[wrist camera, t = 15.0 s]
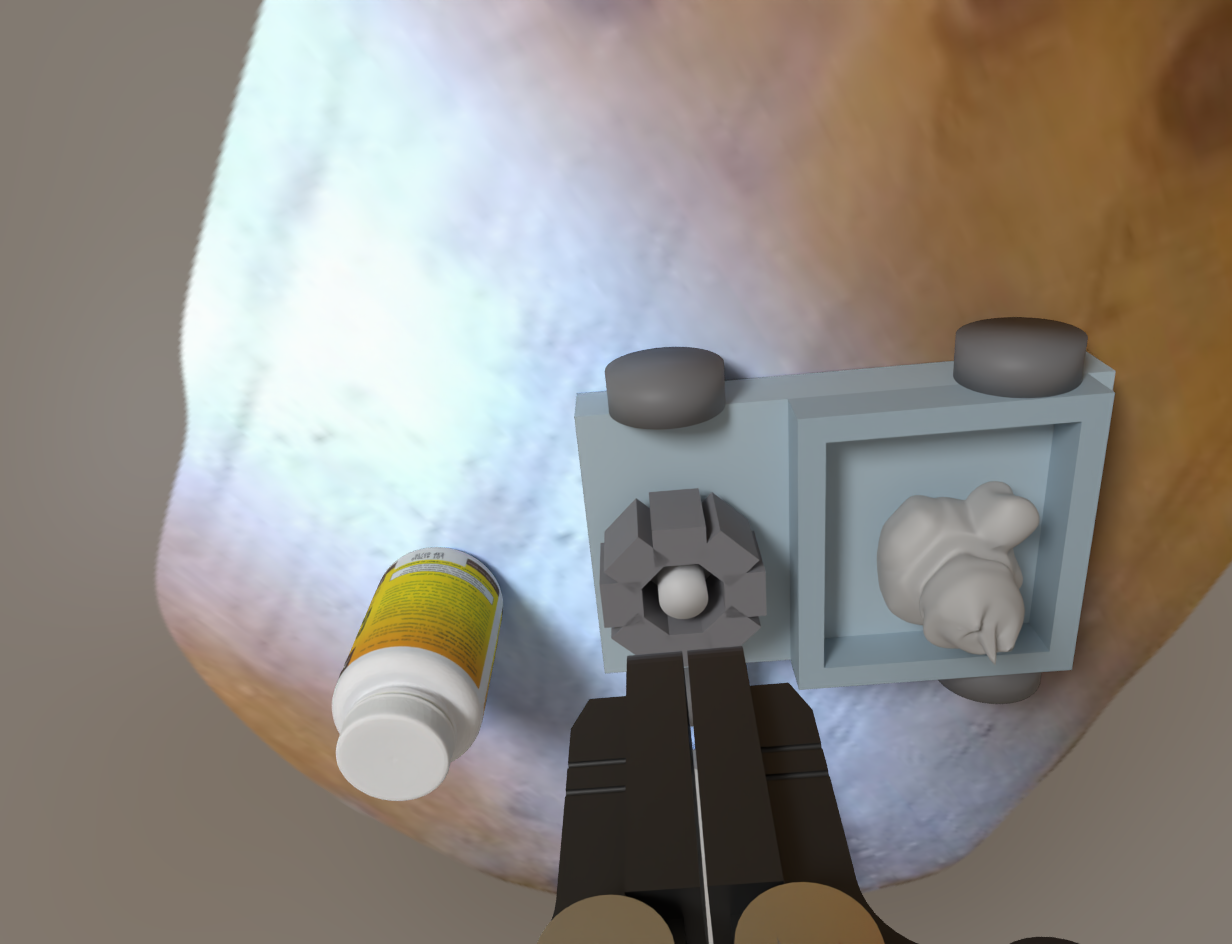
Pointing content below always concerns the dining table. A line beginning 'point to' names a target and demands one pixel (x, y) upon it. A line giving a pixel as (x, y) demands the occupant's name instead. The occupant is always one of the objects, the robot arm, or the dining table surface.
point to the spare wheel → (681, 538)
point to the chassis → (863, 490)
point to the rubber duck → (958, 567)
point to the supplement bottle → (417, 674)
